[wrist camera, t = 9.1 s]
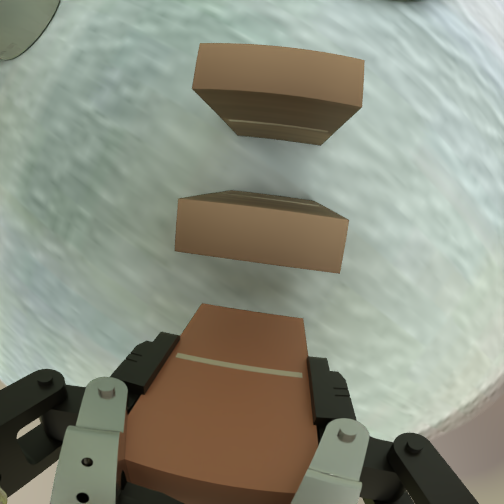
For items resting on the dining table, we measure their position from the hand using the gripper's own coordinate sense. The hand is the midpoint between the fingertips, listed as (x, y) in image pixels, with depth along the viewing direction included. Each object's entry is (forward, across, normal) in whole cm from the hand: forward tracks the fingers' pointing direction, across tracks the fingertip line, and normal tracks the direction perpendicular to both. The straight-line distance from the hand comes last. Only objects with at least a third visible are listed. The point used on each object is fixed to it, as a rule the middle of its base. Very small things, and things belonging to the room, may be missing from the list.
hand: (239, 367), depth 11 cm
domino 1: (+9, 0, -10) cm, 14 cm away
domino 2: (+9, 0, -5) cm, 10 cm away
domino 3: (+4, 0, 0) cm, 4 cm away
